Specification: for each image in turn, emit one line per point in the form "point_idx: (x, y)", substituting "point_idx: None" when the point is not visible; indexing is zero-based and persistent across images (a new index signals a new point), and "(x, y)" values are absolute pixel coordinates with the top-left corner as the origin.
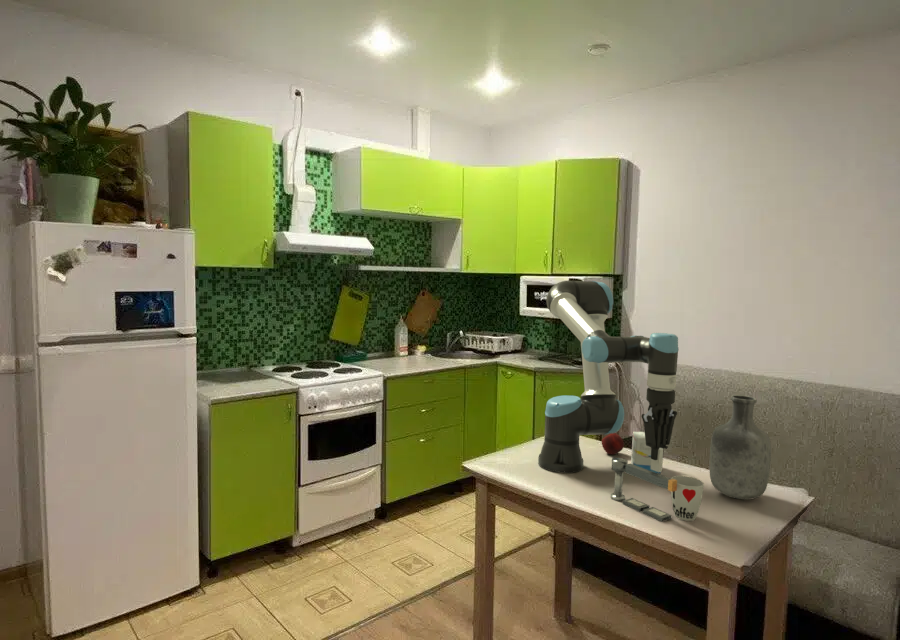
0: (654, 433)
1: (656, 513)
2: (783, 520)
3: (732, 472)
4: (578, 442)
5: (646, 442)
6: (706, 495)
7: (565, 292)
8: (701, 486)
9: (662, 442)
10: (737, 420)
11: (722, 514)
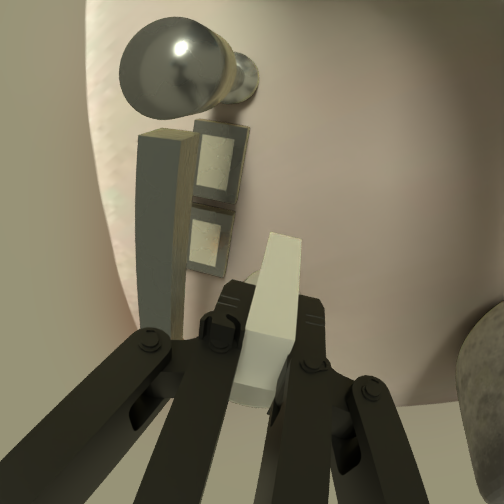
0: (104, 476)
1: (193, 245)
2: (403, 405)
3: (468, 402)
4: None
5: (120, 353)
6: (473, 282)
7: None
8: (246, 405)
9: (268, 427)
10: None
11: (362, 344)
